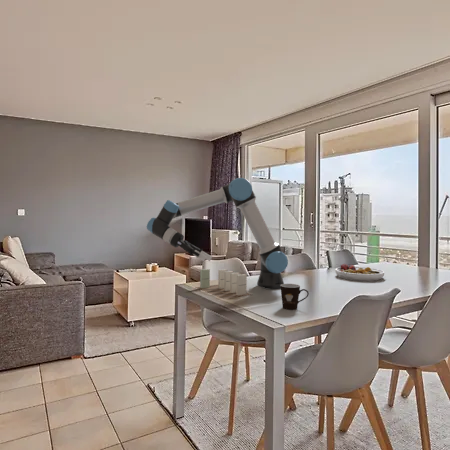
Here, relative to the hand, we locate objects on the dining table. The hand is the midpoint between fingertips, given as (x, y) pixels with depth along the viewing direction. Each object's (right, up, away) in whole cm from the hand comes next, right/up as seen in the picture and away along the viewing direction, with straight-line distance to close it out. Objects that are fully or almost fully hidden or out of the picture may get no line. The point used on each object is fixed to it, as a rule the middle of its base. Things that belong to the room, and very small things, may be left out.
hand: (208, 259), depth 186 cm
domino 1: (-2, -17, +16) cm, 23 cm away
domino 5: (+17, -18, 0) cm, 25 cm away
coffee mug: (+39, -20, -24) cm, 49 cm away
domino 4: (+14, -18, +5) cm, 23 cm away
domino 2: (+8, -17, +15) cm, 24 cm away
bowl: (+97, -18, +55) cm, 112 cm away
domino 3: (+11, -17, +10) cm, 23 cm away
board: (+7, -18, +8) cm, 21 cm away
